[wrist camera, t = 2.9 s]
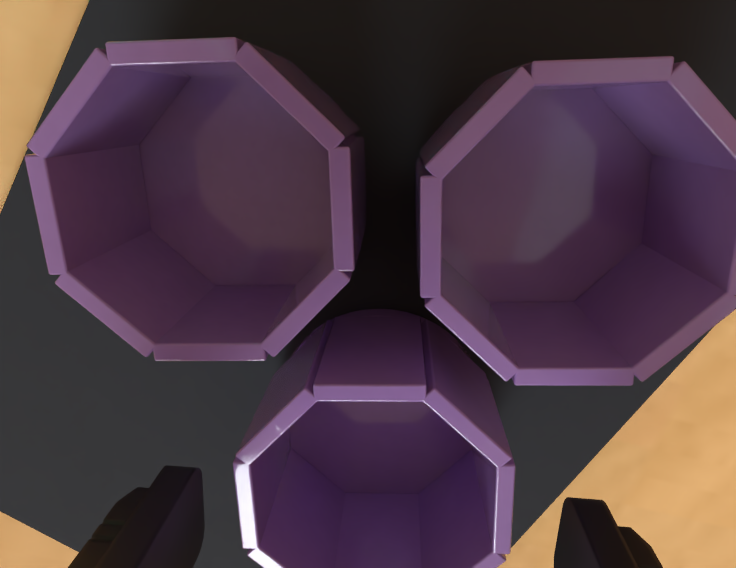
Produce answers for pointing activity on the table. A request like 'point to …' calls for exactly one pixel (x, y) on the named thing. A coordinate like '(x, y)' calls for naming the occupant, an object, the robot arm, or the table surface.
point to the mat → (368, 281)
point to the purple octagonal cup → (199, 196)
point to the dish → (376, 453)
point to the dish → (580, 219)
